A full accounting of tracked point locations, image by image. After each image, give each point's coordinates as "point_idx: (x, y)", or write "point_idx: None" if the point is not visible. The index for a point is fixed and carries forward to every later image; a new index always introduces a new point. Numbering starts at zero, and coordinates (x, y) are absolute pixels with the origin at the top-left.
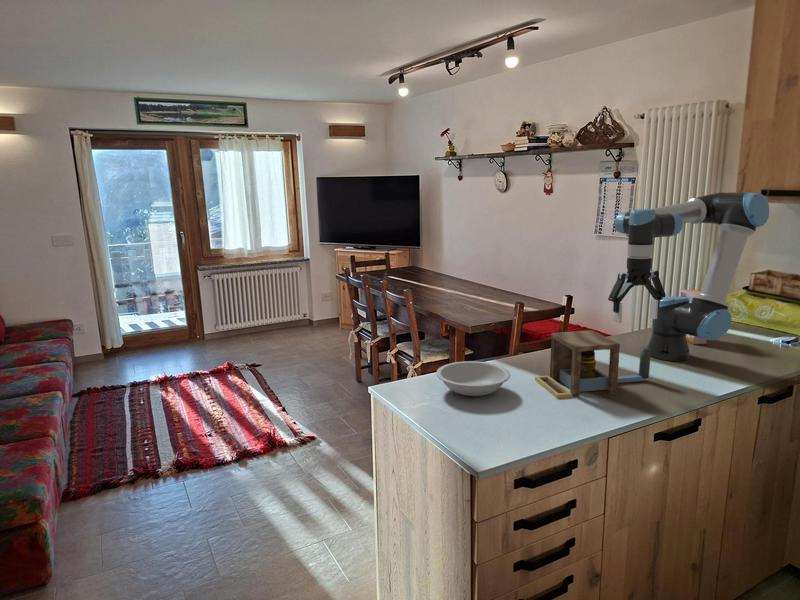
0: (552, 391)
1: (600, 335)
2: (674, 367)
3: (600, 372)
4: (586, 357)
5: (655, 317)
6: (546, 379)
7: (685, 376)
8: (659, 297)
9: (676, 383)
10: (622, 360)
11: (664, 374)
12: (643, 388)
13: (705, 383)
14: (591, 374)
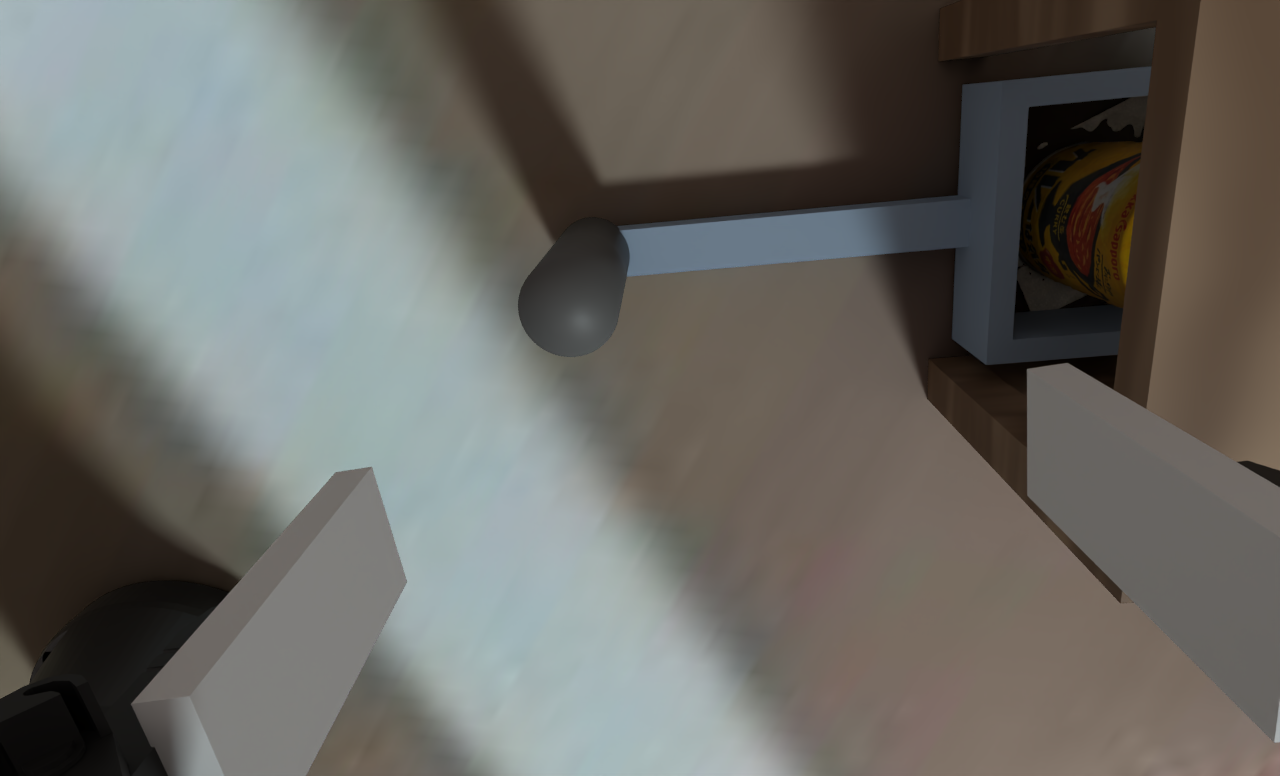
0: None
1: (1182, 373)
2: (250, 471)
3: (1003, 219)
4: None
5: (353, 481)
6: None
7: (250, 289)
8: (45, 765)
9: (382, 156)
10: (544, 642)
11: (383, 348)
12: (680, 85)
13: (166, 126)
14: (1137, 148)
